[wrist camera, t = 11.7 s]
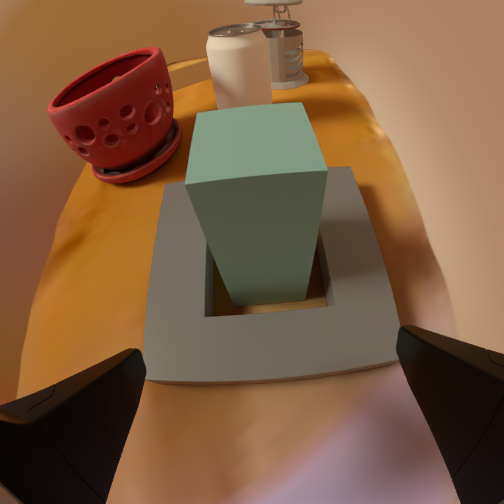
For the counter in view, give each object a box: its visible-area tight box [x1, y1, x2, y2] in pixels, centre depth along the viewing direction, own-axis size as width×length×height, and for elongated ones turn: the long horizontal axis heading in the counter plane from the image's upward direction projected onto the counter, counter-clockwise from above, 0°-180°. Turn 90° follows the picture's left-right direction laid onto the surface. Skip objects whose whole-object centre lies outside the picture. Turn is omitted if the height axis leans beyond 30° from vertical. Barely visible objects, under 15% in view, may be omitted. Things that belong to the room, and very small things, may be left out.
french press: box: [244, 0, 309, 90], centre depth 28 cm, size 10×12×25 cm
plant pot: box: [47, 47, 182, 183], centre depth 25 cm, size 13×13×12 cm
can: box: [206, 24, 272, 110], centre depth 27 cm, size 6×6×12 cm
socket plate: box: [143, 167, 400, 385], centre depth 20 cm, size 16×16×2 cm
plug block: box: [185, 102, 328, 307], centre depth 16 cm, size 5×5×12 cm
